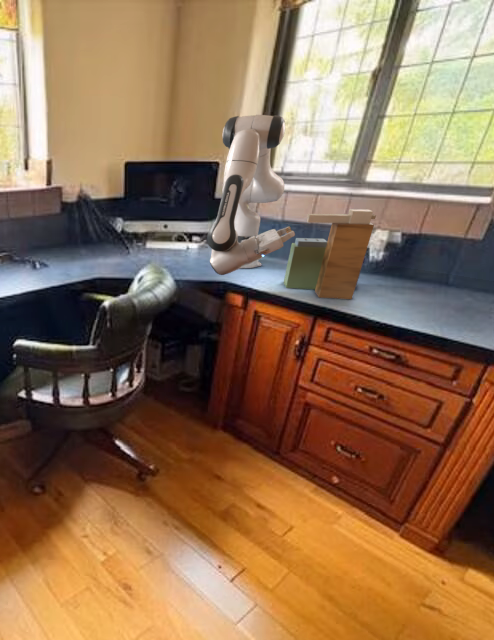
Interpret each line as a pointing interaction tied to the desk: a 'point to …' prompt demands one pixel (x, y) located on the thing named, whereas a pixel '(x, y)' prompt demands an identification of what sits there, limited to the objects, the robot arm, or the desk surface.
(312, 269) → the green upright rectangular block
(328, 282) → the oak stand
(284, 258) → the desk surface
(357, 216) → the beige stepped bar
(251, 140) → the robot arm
